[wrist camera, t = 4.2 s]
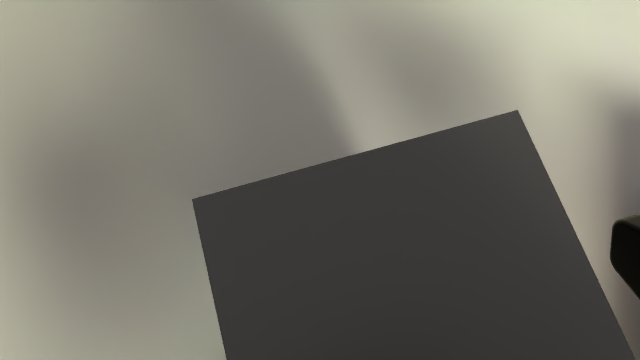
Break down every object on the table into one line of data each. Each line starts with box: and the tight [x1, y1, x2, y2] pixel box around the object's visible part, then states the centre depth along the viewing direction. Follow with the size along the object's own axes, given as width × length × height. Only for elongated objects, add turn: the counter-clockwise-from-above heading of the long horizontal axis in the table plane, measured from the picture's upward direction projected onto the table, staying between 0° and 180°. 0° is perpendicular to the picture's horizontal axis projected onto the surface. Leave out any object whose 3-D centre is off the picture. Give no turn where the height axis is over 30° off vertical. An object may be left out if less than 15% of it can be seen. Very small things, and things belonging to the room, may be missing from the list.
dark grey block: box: [192, 110, 635, 360], centre depth 11 cm, size 5×5×10 cm
